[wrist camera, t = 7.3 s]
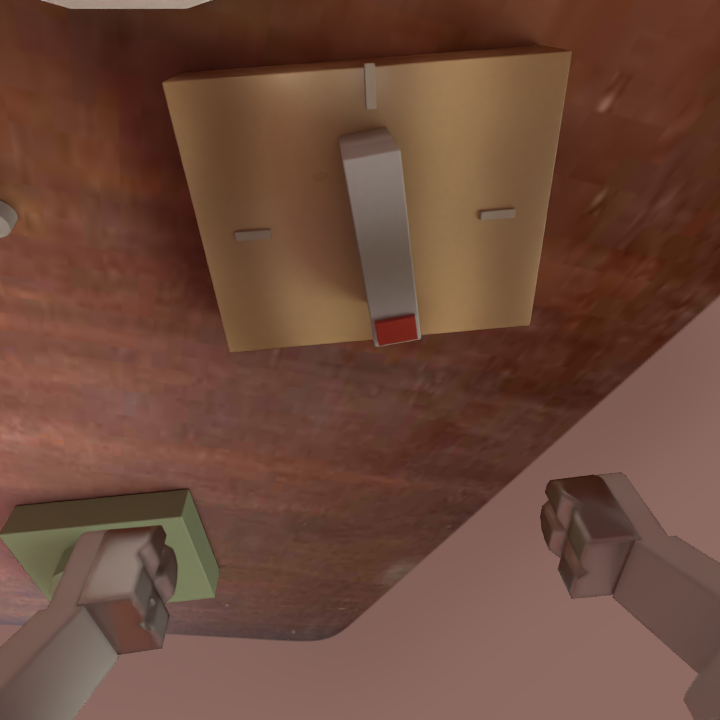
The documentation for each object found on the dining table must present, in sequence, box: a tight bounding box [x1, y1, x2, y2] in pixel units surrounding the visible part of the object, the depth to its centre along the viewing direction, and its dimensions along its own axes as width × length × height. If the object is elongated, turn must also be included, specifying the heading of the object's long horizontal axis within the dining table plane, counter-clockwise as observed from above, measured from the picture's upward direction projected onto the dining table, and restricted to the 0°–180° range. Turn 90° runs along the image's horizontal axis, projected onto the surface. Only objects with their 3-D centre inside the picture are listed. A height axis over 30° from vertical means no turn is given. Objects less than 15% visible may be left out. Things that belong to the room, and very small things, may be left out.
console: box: [162, 45, 572, 352], centre depth 21 cm, size 14×11×3 cm
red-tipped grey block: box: [338, 127, 421, 347], centre depth 19 cm, size 7×2×4 cm, turn 9°
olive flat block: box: [0, 489, 219, 602], centre depth 33 cm, size 11×9×4 cm
